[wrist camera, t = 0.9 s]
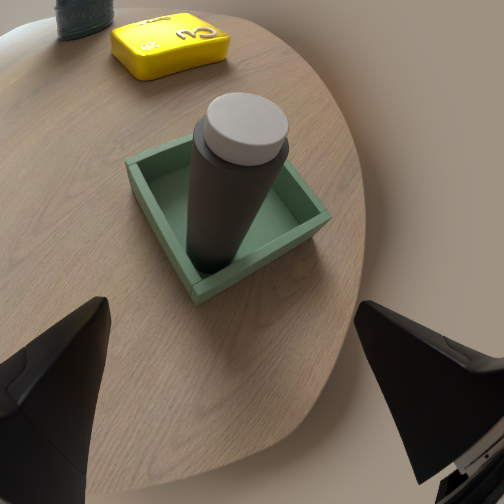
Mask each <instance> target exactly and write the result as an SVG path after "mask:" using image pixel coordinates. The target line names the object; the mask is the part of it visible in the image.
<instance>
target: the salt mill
mask: <svg viewBox="0 0 504 504" xmlns="http://www.w3.org/2000/svg"><path fill="white" fill-rule="evenodd" d="M288 131H289V122H288V119H287V117H286V115H285V114H284V112H283V111H282V110H281V109H280V108H279V107H278V106H277V105H276V104H274V103H273V102H271V101H269V100H268V99H266V98H263V97H261V96H258V95H254V94H250V93H229V94H225V95H222V96H219V97H218V98H216V99H215V100H213V101H212V102H211V103H210V105H209V106H208V109H207V112H206V115H204V116H203V117H202V118H201V119H200V120H199V121H198V123H197V124H196V126H195V129H194V132H193V141H192V152H191V163H190V176H189V191H188V209H187V232H186V254H187V256H188V257H189V259H190V261H191V262H192V264H193V266H194V267H195V269H197V270H198V271H200V272H203V273H207V274H215V273H217V272H218V271H220V270H222V269H224V268H225V267H227V266H229V265H230V264H231V263H232V261H233V259H234V257H235V255H236V253H237V251H238V250H239V248H240V246H241V244H242V242H243V240H244V238H245V236H246V234H247V232H248V230H249V228H250V227H251V225H252V223H253V221H254V219H255V217H256V215H257V213H258V211H259V209H260V208H261V206H262V204H263V202H264V200H265V198H266V196H267V194H268V193H269V191H270V189H271V187H272V185H273V183H274V181H275V179H276V178H277V176H278V174H279V172H280V170H281V168H282V166H283V164H284V163H285V161H286V159H287V157H288V153H289V144H288V140H287V137H286V136H287V134H288Z"/></svg>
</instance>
